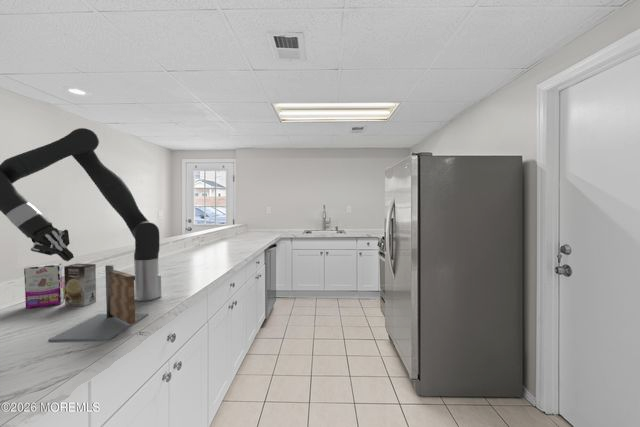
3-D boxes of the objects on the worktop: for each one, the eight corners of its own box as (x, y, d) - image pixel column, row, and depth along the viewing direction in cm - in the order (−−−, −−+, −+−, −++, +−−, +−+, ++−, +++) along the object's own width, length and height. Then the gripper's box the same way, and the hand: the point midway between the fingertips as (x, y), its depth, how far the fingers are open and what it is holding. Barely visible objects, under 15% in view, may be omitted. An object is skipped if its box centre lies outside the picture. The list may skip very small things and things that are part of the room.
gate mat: (99, 315, 117) (99, 314, 117) (148, 315, 117) (148, 313, 117) (48, 341, 95) (48, 339, 95) (109, 340, 95) (109, 338, 95)
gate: (109, 314, 112) (108, 270, 112) (115, 312, 114) (114, 269, 113) (129, 324, 102) (128, 276, 102) (136, 322, 104) (135, 275, 103)
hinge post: (109, 317, 115) (108, 264, 114) (116, 317, 115) (114, 264, 114) (105, 319, 113) (103, 266, 112) (112, 319, 113) (110, 266, 112)
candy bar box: (64, 301, 135) (62, 262, 134) (60, 304, 130) (59, 264, 130) (29, 305, 130) (28, 265, 129) (25, 309, 125) (23, 267, 125)
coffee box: (63, 305, 129) (62, 266, 129) (77, 300, 135) (76, 263, 135) (84, 306, 128) (83, 266, 128) (97, 301, 134) (96, 263, 134)
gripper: (16, 222, 97) (61, 264, 101) (53, 207, 109) (92, 244, 113) (3, 234, 99) (47, 275, 103) (41, 218, 111) (79, 254, 116)
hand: (70, 259), depth 108 cm, fingers closed
